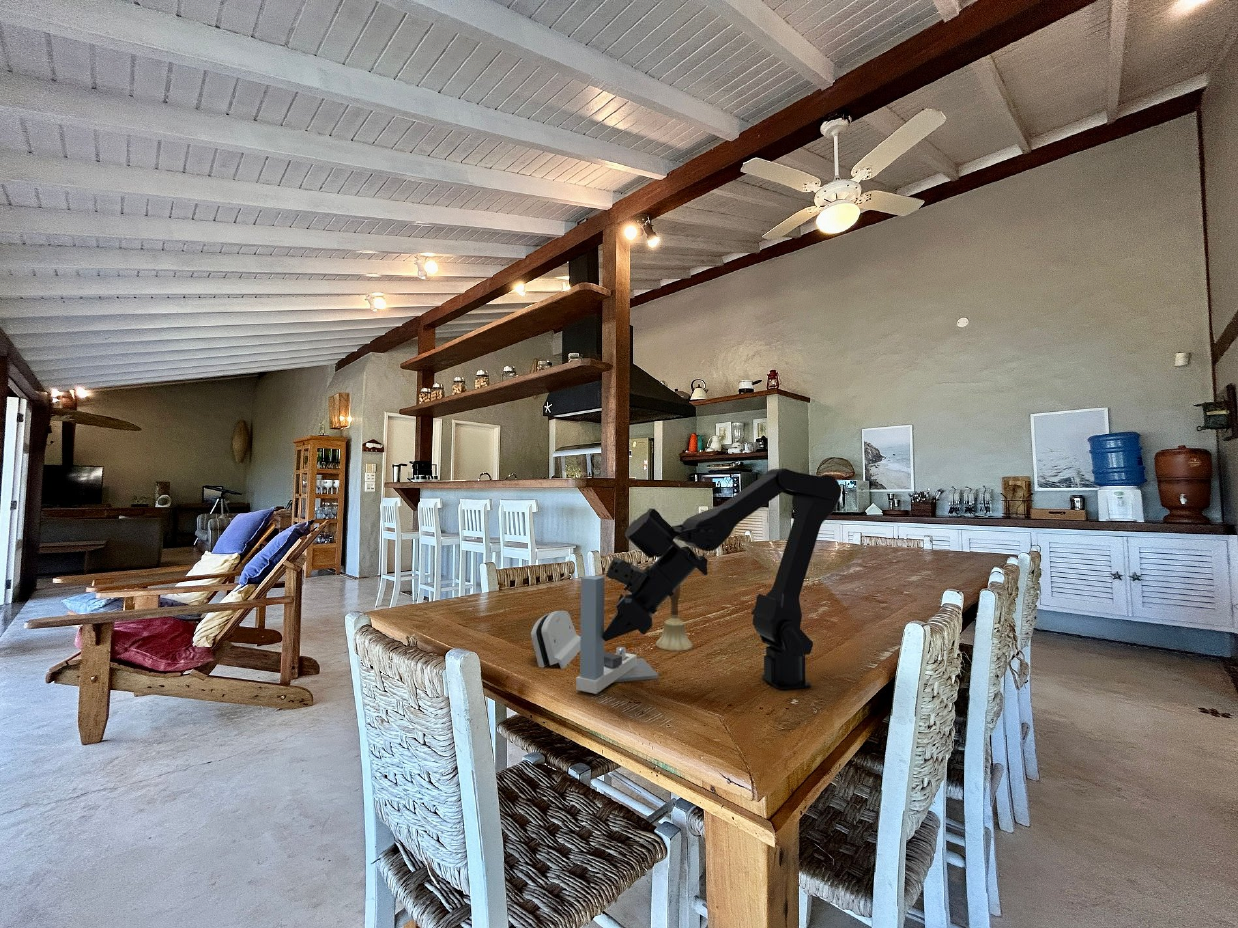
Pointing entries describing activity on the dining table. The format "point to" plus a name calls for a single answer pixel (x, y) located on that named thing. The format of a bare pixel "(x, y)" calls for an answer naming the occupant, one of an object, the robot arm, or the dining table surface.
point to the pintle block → (636, 673)
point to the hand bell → (674, 629)
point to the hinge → (555, 639)
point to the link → (596, 641)
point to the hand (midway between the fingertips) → (603, 638)
